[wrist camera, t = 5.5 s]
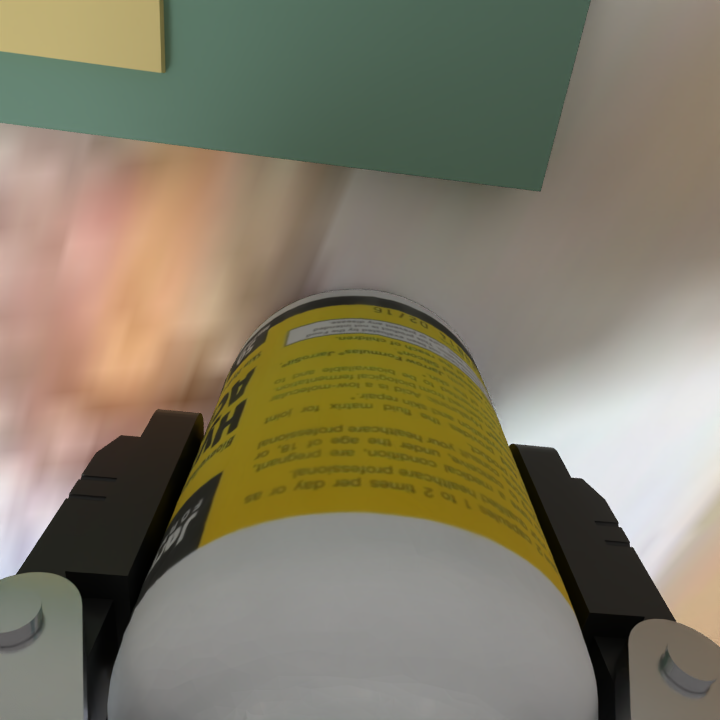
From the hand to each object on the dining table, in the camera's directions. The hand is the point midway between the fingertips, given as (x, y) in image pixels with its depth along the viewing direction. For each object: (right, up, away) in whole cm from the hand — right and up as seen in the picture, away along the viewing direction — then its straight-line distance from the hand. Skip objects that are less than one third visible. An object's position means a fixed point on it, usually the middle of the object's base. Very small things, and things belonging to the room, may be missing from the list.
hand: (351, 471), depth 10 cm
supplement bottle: (0, +1, +2) cm, 3 cm away
